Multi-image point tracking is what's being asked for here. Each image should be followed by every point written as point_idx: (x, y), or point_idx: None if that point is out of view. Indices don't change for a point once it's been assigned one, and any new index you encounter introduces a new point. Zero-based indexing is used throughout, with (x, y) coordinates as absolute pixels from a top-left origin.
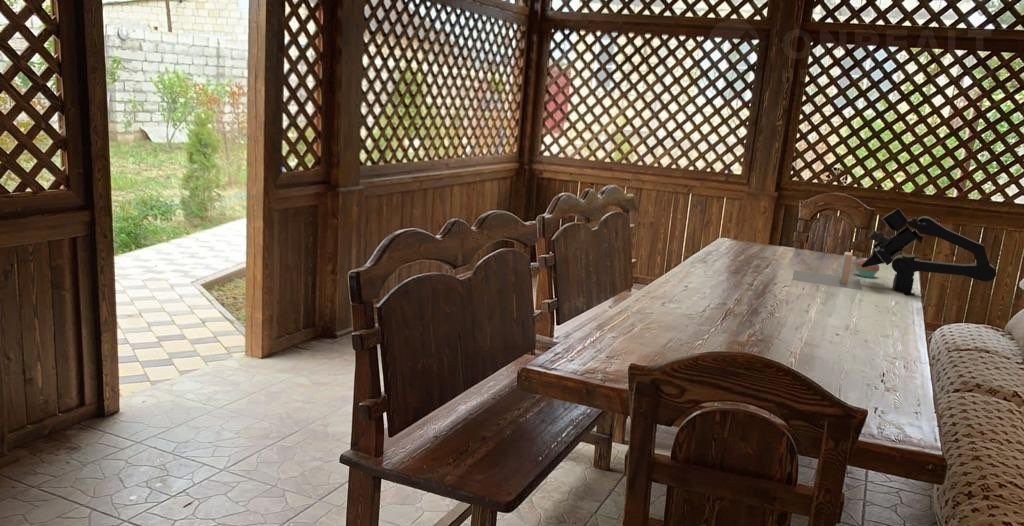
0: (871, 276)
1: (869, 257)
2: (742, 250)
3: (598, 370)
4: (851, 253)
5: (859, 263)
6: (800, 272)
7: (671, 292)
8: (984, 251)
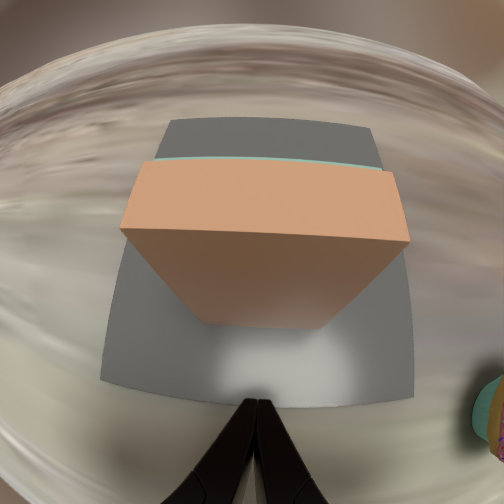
0: (481, 435)
1: (219, 499)
2: (480, 98)
3: None
4: (306, 224)
5: None
6: (339, 139)
7: (52, 68)
8: None
